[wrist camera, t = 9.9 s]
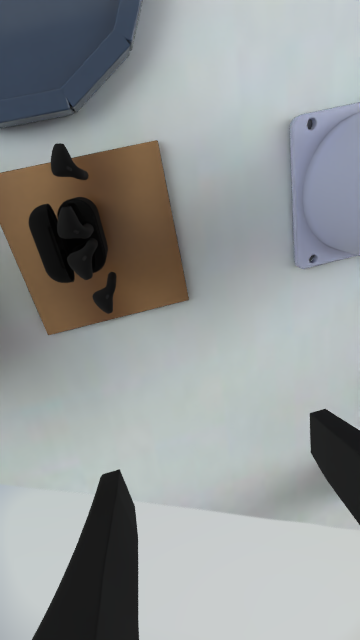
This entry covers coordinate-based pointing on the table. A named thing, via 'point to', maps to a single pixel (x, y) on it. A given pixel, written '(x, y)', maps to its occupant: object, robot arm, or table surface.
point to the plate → (59, 54)
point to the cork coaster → (119, 228)
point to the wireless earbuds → (72, 235)
